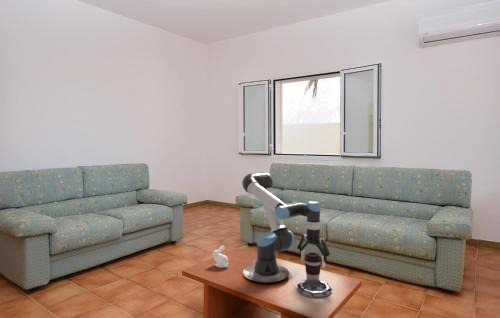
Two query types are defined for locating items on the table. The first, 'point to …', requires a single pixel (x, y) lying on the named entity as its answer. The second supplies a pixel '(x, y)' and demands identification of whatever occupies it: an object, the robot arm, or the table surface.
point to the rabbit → (220, 258)
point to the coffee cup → (312, 266)
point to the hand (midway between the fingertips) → (312, 264)
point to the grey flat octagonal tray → (314, 288)
